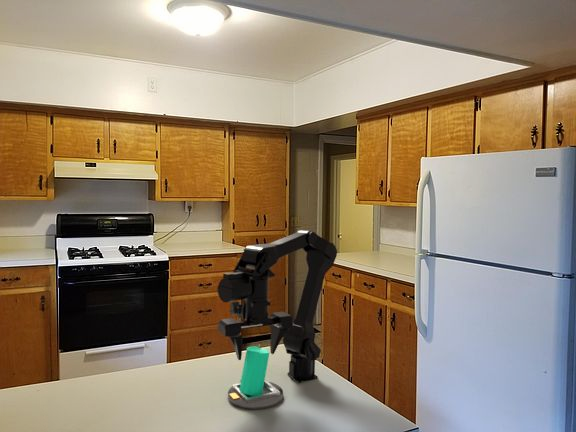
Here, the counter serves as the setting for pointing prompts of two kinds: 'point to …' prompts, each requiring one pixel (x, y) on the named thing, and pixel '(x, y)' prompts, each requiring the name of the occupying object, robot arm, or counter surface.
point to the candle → (254, 371)
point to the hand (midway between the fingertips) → (256, 356)
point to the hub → (256, 397)
